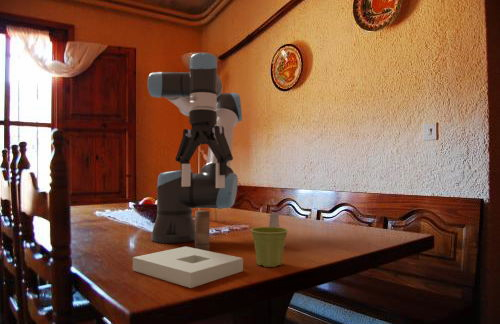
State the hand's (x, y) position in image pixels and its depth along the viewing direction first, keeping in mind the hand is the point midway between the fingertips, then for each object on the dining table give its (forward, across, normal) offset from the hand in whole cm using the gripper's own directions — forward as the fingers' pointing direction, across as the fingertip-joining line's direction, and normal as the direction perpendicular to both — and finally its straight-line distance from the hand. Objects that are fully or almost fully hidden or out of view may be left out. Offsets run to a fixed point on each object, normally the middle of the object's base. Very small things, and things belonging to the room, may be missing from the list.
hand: (202, 187), depth 101 cm
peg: (+19, 0, 0) cm, 19 cm away
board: (+19, +9, -13) cm, 24 cm away
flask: (+19, +8, +23) cm, 31 cm away
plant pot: (+19, +20, +4) cm, 28 cm away
